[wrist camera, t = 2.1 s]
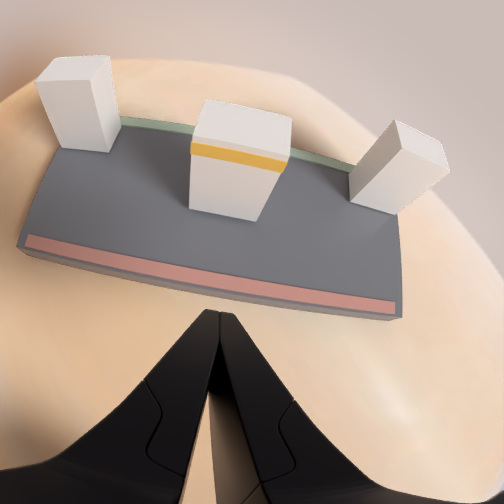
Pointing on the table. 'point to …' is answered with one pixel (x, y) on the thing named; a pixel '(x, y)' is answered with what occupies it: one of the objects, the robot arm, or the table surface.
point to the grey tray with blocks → (214, 225)
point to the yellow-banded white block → (236, 158)
